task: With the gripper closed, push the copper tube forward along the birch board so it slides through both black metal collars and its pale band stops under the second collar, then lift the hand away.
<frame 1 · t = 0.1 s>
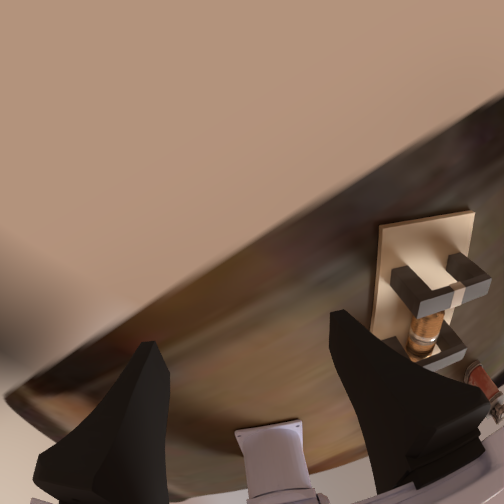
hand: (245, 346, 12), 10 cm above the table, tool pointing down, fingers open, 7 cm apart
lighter: (472, 373, 36), on the table
tube: (408, 352, 28), point 1 cm above the table, touching board
board: (416, 305, 26), on the table
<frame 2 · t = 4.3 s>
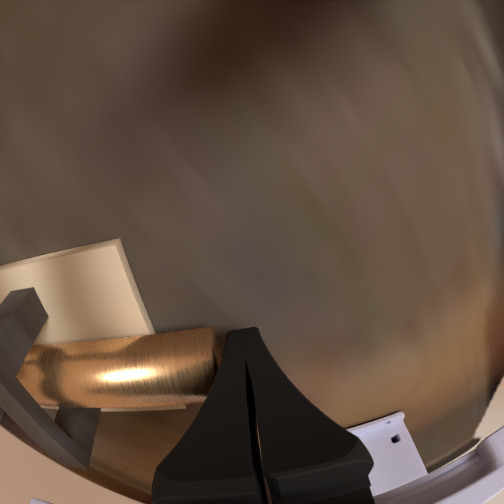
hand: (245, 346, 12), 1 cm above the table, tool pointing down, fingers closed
tube: (78, 352, 13), point 1 cm above the table, touching gripper
board: (18, 347, 13), on the table
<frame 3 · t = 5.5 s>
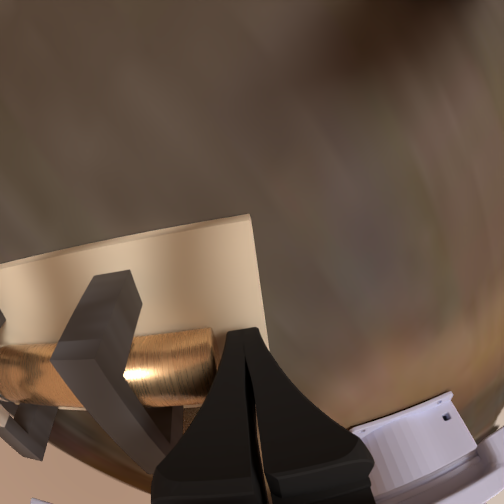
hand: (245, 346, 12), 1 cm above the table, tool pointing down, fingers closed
tube: (76, 353, 13), point 1 cm above the table, touching board, gripper
board: (82, 343, 13), on the table
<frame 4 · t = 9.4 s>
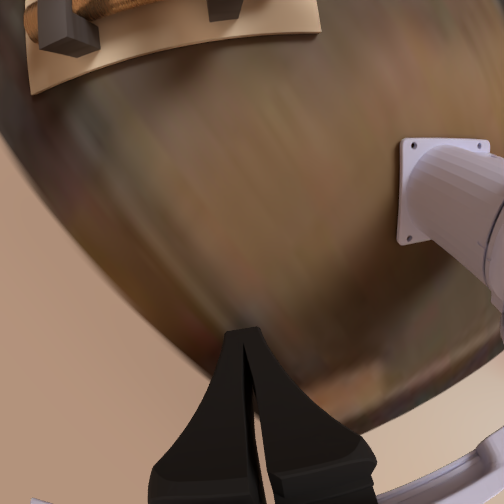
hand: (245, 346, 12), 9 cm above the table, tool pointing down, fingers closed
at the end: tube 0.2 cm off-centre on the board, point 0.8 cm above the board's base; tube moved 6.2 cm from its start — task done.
